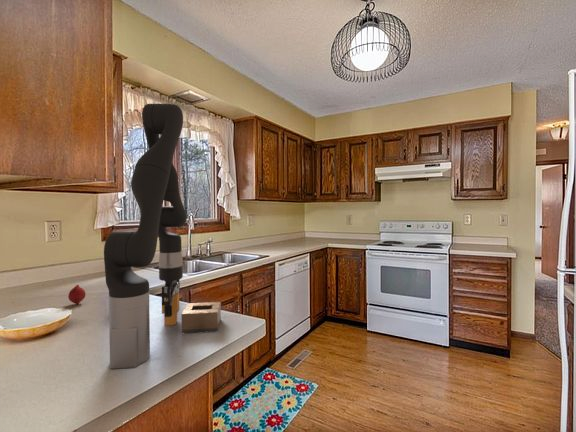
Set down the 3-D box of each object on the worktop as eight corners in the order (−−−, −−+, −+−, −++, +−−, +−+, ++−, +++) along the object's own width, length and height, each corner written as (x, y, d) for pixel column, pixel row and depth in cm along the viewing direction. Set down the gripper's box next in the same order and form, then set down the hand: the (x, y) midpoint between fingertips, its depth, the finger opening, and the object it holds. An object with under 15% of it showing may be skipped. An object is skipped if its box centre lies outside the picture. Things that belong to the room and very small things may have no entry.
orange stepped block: (177, 324, 103) (177, 295, 103) (162, 325, 103) (161, 295, 102) (179, 321, 106) (179, 292, 106) (164, 322, 106) (164, 293, 105)
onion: (76, 306, 123) (76, 286, 123) (64, 305, 124) (64, 286, 124) (89, 302, 129) (88, 283, 129) (77, 301, 130) (77, 282, 130)
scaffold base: (217, 331, 97) (217, 312, 97) (181, 333, 96) (181, 313, 96) (220, 319, 108) (220, 302, 108) (188, 321, 107) (188, 303, 106)
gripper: (177, 268, 97) (178, 319, 98) (186, 260, 112) (187, 305, 112) (152, 269, 97) (153, 320, 97) (165, 261, 111) (165, 305, 111)
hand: (171, 312), depth 105 cm, fingers open, 8 cm apart
